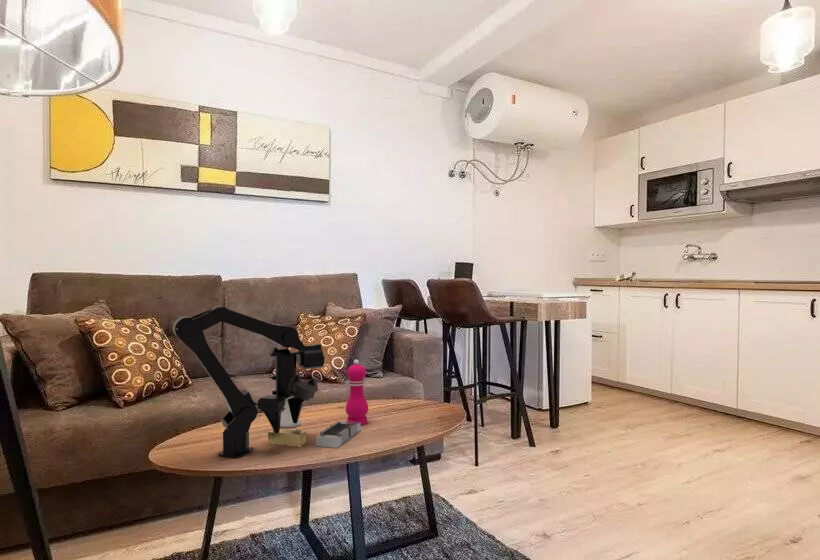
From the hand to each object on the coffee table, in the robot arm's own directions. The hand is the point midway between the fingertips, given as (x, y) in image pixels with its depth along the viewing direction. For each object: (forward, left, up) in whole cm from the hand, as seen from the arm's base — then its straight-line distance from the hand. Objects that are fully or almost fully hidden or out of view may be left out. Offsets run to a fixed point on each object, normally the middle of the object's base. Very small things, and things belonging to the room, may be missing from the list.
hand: (286, 427), depth 129 cm
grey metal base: (+8, -12, -4) cm, 15 cm away
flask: (+16, +9, -5) cm, 19 cm away
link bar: (0, 0, -5) cm, 5 cm away
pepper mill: (+23, -11, -5) cm, 26 cm away
